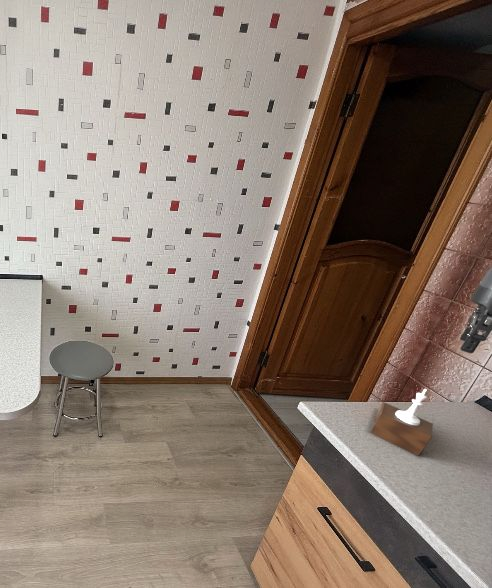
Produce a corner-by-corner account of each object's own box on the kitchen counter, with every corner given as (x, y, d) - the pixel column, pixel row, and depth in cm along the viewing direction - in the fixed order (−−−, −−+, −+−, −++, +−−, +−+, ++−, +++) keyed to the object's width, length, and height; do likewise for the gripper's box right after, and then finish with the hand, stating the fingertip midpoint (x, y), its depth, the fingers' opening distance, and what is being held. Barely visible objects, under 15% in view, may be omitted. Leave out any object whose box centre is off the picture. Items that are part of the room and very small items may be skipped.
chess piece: (393, 416, 89) (411, 387, 85) (396, 409, 92) (414, 380, 88) (418, 428, 86) (438, 398, 82) (420, 420, 89) (440, 390, 85)
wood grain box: (421, 430, 95) (434, 411, 92) (417, 456, 86) (431, 436, 83) (377, 410, 102) (388, 392, 99) (370, 432, 93) (381, 413, 90)
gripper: (532, 300, 71) (489, 363, 78) (524, 287, 80) (485, 343, 87) (481, 289, 76) (444, 348, 82) (478, 277, 85) (445, 331, 92)
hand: (465, 346), depth 85 cm, fingers open, 8 cm apart
